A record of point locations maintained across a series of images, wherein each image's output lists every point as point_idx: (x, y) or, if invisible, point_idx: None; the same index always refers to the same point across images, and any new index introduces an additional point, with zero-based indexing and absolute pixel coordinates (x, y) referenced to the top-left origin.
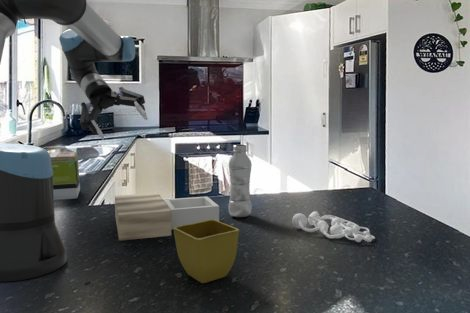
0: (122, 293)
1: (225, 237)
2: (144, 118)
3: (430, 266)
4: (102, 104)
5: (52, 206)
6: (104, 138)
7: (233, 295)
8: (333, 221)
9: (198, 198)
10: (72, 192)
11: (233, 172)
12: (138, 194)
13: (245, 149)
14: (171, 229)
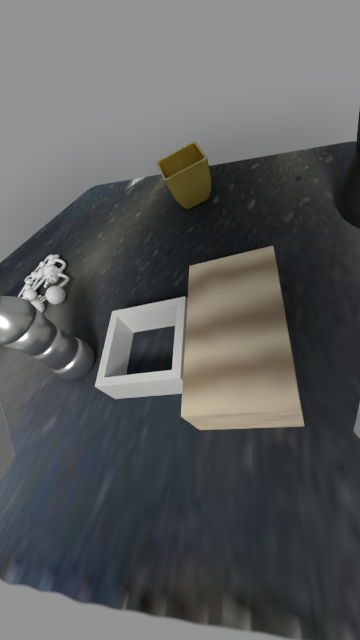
0: (264, 170)
1: (171, 158)
2: (7, 457)
3: (58, 225)
4: None
5: (358, 128)
6: (355, 425)
7: None
8: (32, 290)
9: (114, 376)
10: None
11: (40, 312)
12: (232, 408)
13: None
14: None
